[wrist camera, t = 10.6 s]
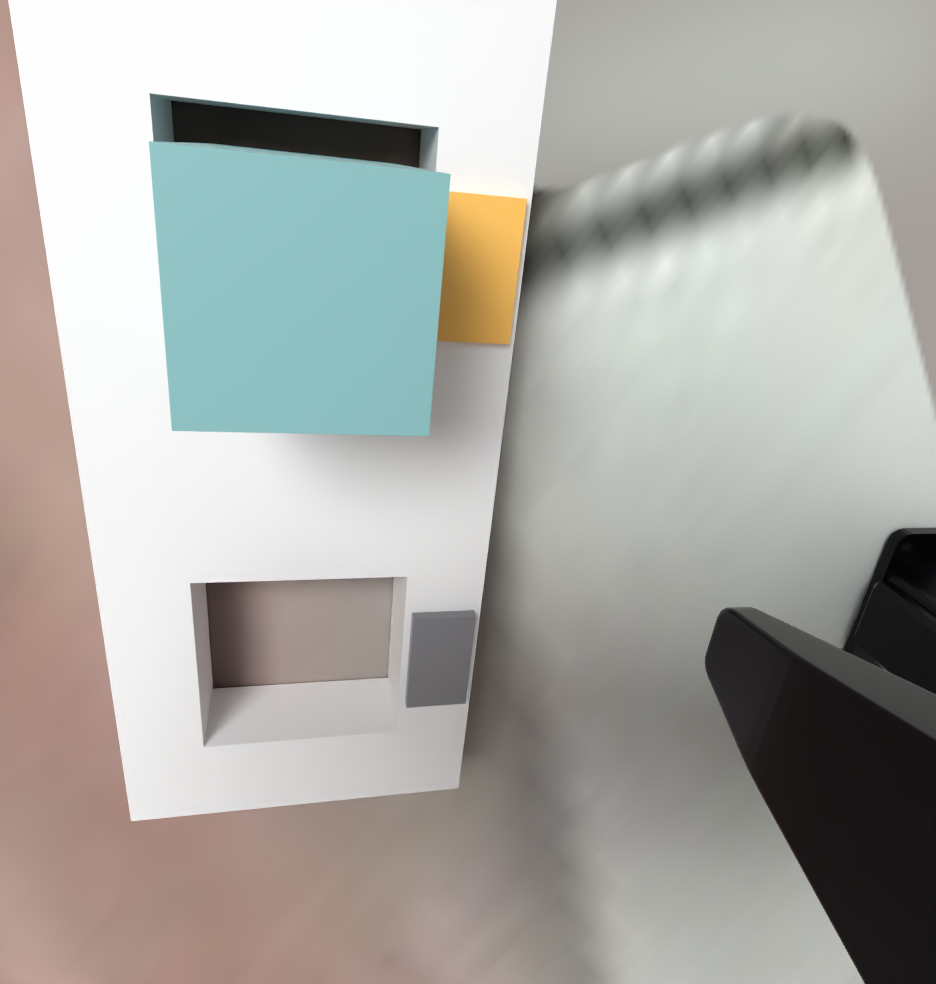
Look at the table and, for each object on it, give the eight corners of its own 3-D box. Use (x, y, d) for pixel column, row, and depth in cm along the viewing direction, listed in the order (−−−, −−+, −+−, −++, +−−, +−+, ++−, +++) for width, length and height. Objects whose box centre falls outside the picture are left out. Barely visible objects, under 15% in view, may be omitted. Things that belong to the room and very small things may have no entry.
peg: (389, 162, 17) (450, 173, 10) (381, 327, 19) (428, 436, 12) (215, 143, 16) (148, 140, 9) (223, 318, 18) (172, 431, 11)
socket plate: (523, 9, 16) (563, -16, 14) (445, 732, 26) (460, 795, 23) (41, -69, 14) (-15, -115, 12) (147, 757, 23) (129, 829, 21)
